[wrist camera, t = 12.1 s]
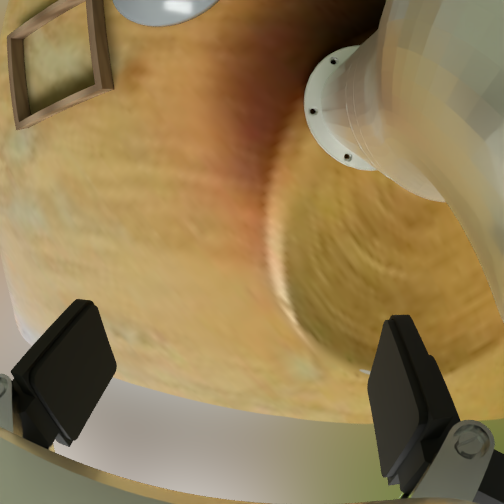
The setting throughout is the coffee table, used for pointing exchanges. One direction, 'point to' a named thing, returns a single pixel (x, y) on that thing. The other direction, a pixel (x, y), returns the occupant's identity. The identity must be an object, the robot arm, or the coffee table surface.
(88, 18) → the walnut frame
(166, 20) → the grey round plate
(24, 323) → the coffee table surface
